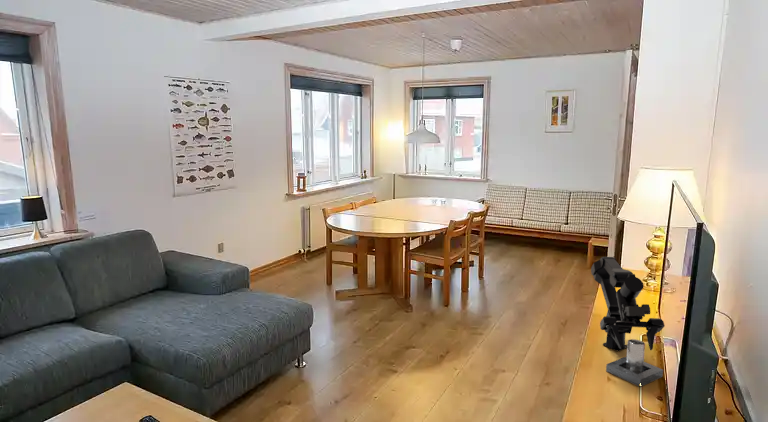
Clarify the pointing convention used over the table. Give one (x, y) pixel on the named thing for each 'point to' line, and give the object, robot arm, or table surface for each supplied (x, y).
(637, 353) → the ring
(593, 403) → the table surface
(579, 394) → the table surface
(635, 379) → the jig
